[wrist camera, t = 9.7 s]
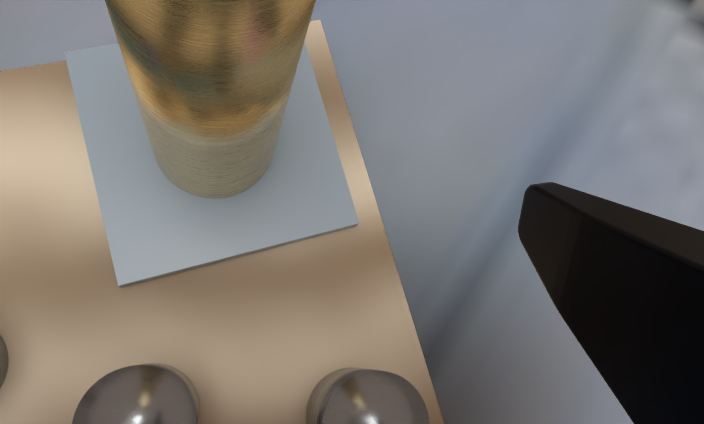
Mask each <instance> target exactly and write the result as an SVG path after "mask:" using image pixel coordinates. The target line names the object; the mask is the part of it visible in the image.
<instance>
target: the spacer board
mask: <svg viewBox="0 0 704 424" xmlns="http://www.w3.org/2000/svg"><path fill="white" fill-rule="evenodd" d="M305 44H306V48H307V51H308V54H309V58H310V61H311V64H312V68H313V71H314V74H315V78H316V81H317V84H318V88H319V91H320V94H321V97H322V101H323V104H324V107H325V111H326V114H327V117H328V121H329V124H330V127H331V131H332V134H333V137H334V141H335V144H336V147H337V150H338V154H339V157H340V160H341V164H342V167H343V170H344V174H345V177H346V180H347V184H348V187H349V190H350V194H351V197H352V200H353V204H354V207H355V210H356V213H357V217H358V220H359V224H358V225H357V226H356V227H352V228H348V229H345V230H341V231H337V232H333V233H329V234H325V235H322V236H318V237H314V238H310V239H306V240H302V241H299V242H295V243H291V244H287V245H283V246H279V247H276V248H272V249H268V250H264V251H260V252H256V253H252V254H249V255H245V256H241V257H237V258H233V259H229V260H226V261H222V262H218V263H214V264H210V265H206V266H203V267H199V268H195V269H191V270H187V271H183V272H180V273H176V274H172V275H168V276H164V277H160V278H157V279H153V280H149V281H145V282H141V283H137V284H134V285H130V286H126V287H122V288H121V287H119V286H118V283H117V279H116V274H115V270H114V266H113V261H112V257H111V253H110V248H109V244H108V240H107V235H106V231H105V227H104V222H103V218H102V213H101V209H100V205H99V200H98V196H97V192H96V187H95V183H94V179H93V174H92V170H91V166H90V161H89V157H88V153H87V148H86V144H85V140H84V135H83V131H82V127H81V122H80V118H79V114H78V109H77V105H76V101H75V96H74V92H73V88H72V83H71V79H70V75H69V70H68V66H67V62H66V61H61V62H55V63H49V64H42V65H36V66H30V67H24V68H18V69H11V70H5V71H0V334H1V336H2V338H3V339H4V341H5V344H6V346H7V350H8V357H9V364H8V371H7V374H6V378H5V380H4V382H3V385H2V386H1V388H0V424H72V421H73V417H74V413H75V411H76V408H77V406H78V404H79V402H80V401H81V399H82V397H83V396H84V394H85V393H86V392H87V391H88V389H89V388H90V387H91V386H92V385H93V384H94V383H96V382H97V381H98V380H99V379H100V378H102V377H104V376H105V375H107V374H109V373H110V372H112V371H115V370H117V369H120V368H124V367H128V366H134V365H140V364H147V363H161V364H166V365H169V366H172V367H174V368H177V369H178V370H180V371H181V372H183V373H184V374H185V375H186V376H187V377H188V378H189V379H190V380H191V382H192V383H193V385H194V386H195V388H196V390H197V393H198V396H199V401H200V418H199V423H198V424H306V407H307V403H308V399H309V397H310V395H311V392H312V391H313V389H314V387H315V386H316V385H317V384H318V382H319V381H320V380H321V379H322V378H324V377H325V376H326V375H328V374H330V373H331V372H333V371H336V370H338V369H342V368H349V367H350V368H363V369H372V370H381V371H387V372H391V373H394V374H397V375H399V376H401V377H403V378H404V379H406V380H407V381H408V382H410V383H411V384H412V385H413V386H414V387H415V388H416V389H417V391H418V392H419V393H420V395H421V396H422V398H423V400H424V402H425V405H426V407H427V411H428V415H429V421H430V424H444V420H443V417H442V414H441V411H440V407H439V404H438V401H437V398H436V394H435V391H434V388H433V385H432V381H431V378H430V375H429V372H428V368H427V365H426V362H425V359H424V355H423V352H422V349H421V346H420V342H419V339H418V336H417V333H416V330H415V326H414V323H413V320H412V317H411V313H410V310H409V307H408V304H407V300H406V297H405V294H404V291H403V287H402V284H401V281H400V278H399V274H398V271H397V268H396V265H395V261H394V258H393V255H392V252H391V248H390V245H389V242H388V239H387V235H386V232H385V229H384V226H383V222H382V219H381V216H380V213H379V209H378V206H377V203H376V200H375V196H374V193H373V190H372V187H371V183H370V180H369V177H368V174H367V171H366V167H365V164H364V161H363V158H362V154H361V151H360V148H359V145H358V141H357V138H356V135H355V132H354V128H353V125H352V122H351V119H350V115H349V112H348V109H347V106H346V102H345V99H344V96H343V93H342V89H341V86H340V83H339V80H338V76H337V73H336V70H335V67H334V63H333V60H332V57H331V54H330V50H329V47H328V44H327V41H326V37H325V34H324V31H323V28H322V24H321V21H320V20H316V21H310V23H309V27H308V30H307V34H306V37H305Z"/></svg>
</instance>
